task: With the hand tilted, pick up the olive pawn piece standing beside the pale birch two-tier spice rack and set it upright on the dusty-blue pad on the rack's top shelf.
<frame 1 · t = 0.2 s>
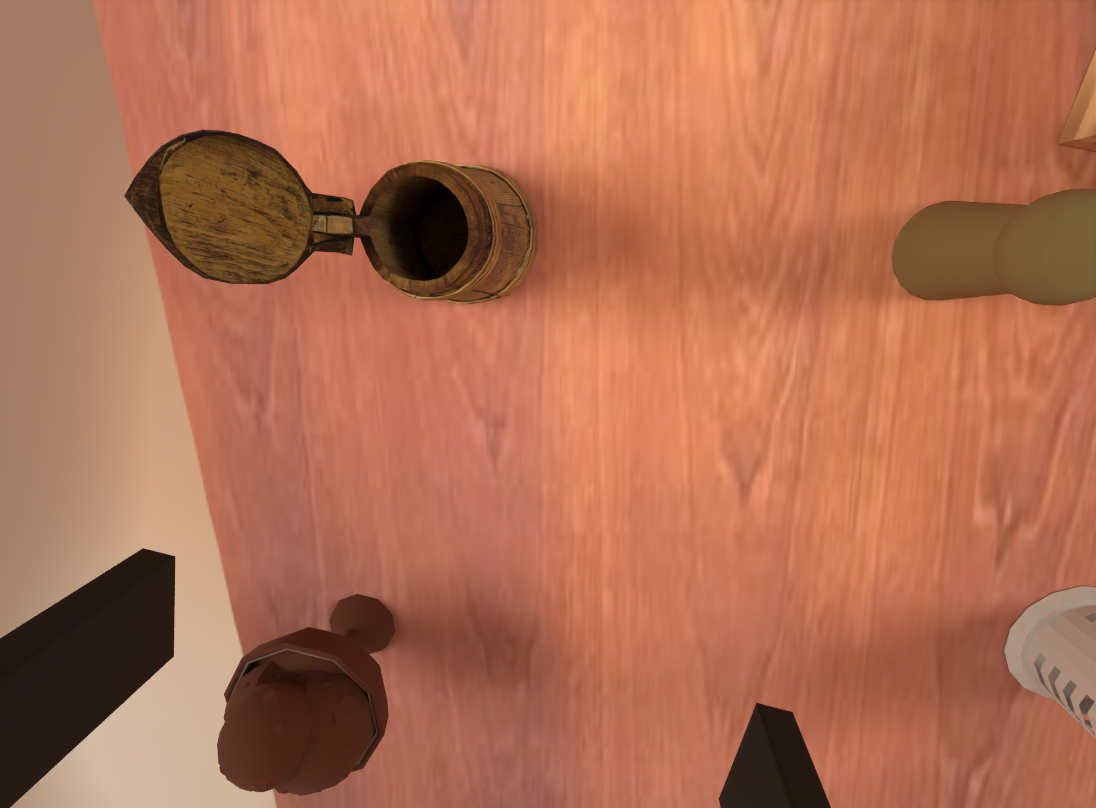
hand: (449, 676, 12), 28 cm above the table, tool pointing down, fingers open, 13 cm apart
wooden mug: (439, 234, 37), on the table
french press: (1083, 649, 40), on the table
olive pawn piece: (941, 251, 34), on the table
ice cream bowl: (363, 622, 46), on the table
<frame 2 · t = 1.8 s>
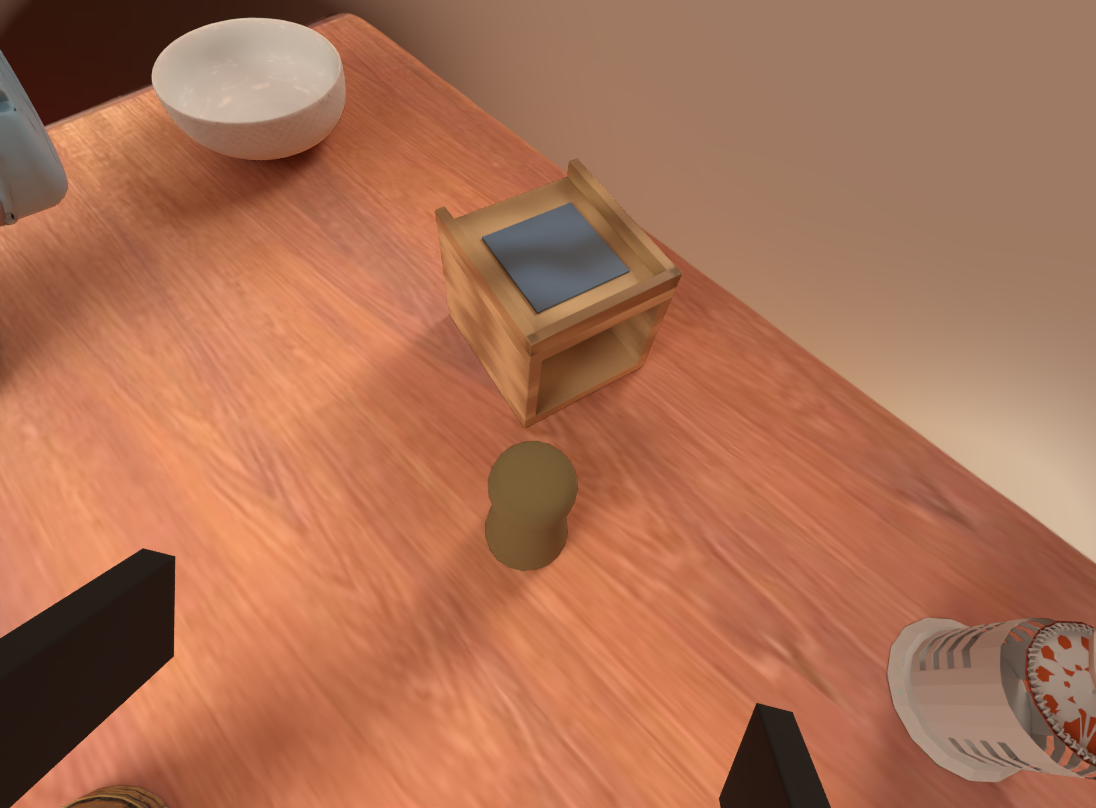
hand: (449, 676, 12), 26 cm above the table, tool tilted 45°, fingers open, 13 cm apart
cereal bowl: (276, 134, 58), on the table
french press: (969, 692, 37), on the table
olive pawn piece: (526, 529, 40), on the table
spice rack: (545, 339, 48), on the table
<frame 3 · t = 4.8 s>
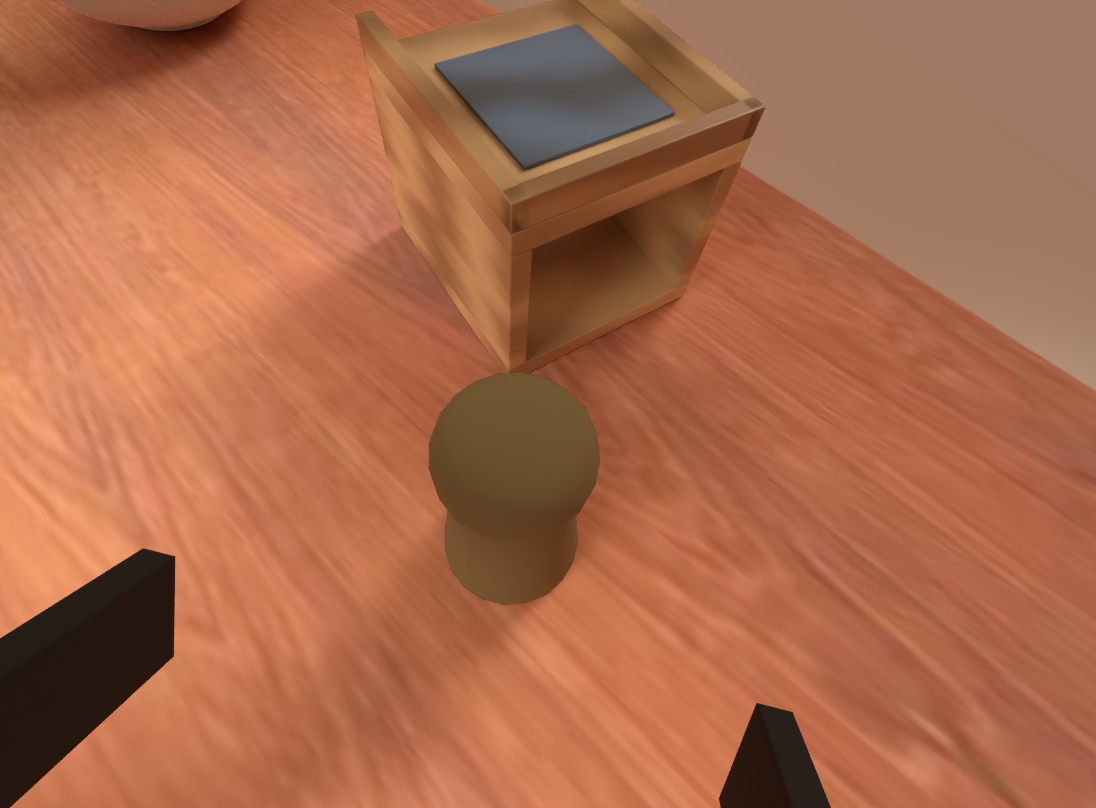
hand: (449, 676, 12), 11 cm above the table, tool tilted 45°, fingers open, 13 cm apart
cereal bowl: (177, 8, 43), on the table
olive pawn piece: (511, 536, 25), on the table
spice rack: (539, 260, 33), on the table
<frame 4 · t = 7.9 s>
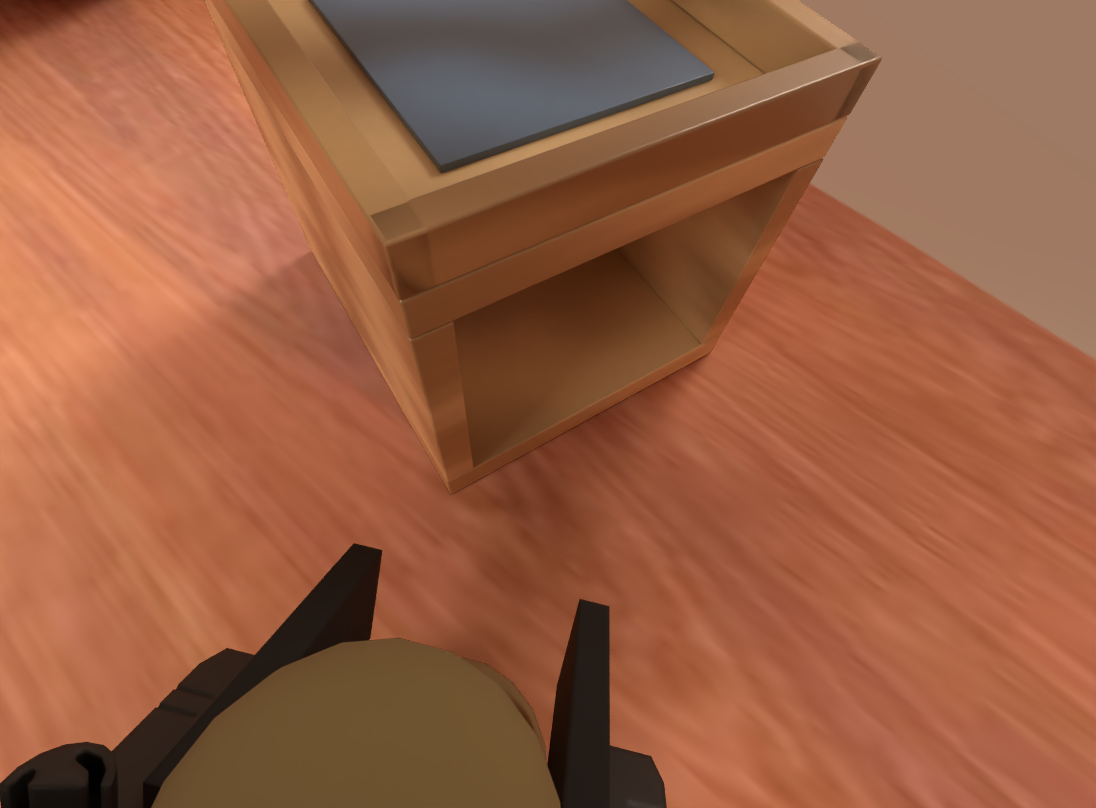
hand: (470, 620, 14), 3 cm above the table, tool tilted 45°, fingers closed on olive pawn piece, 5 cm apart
olive pawn piece: (439, 775, 15), on the table, touching gripper
spice rack: (506, 299, 23), on the table
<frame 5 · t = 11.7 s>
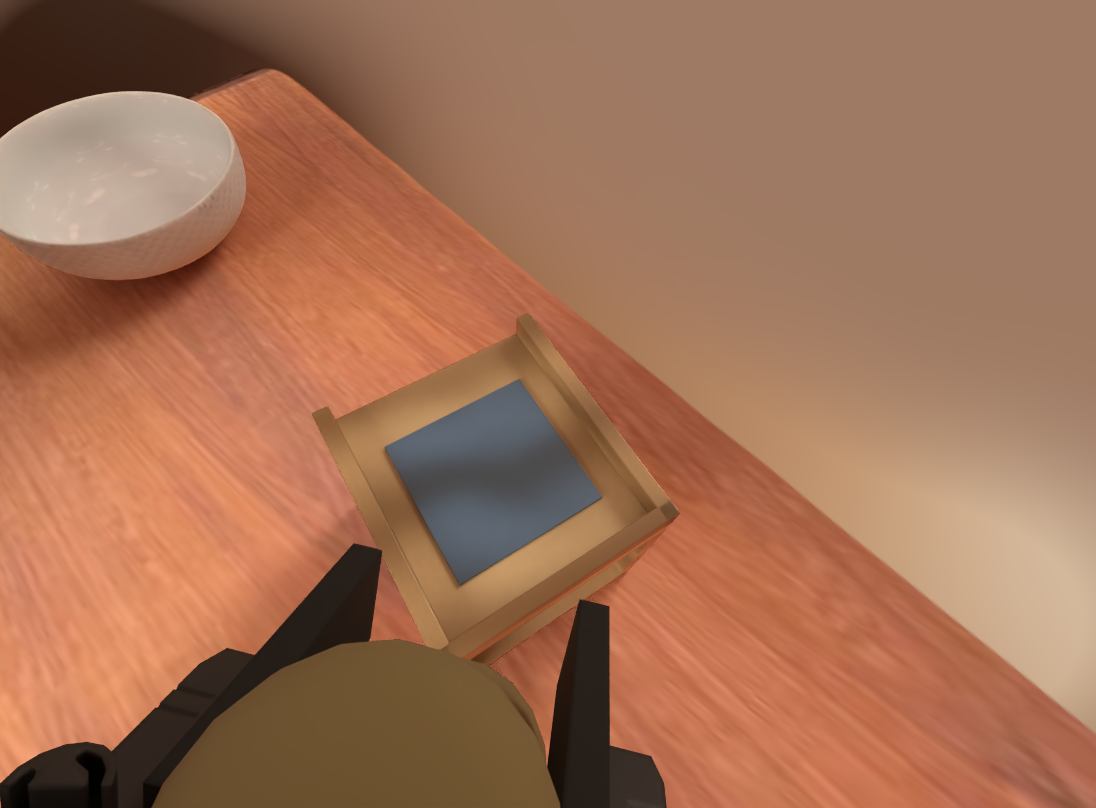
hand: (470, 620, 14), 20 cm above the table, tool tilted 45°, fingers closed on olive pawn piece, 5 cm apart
cereal bowl: (163, 234, 46), on the table
olive pawn piece: (439, 775, 15), point 17 cm above the table, touching gripper
spice rack: (496, 532, 35), on the table
when the fingers open (14 cm above the table, at t = 15.6 s): olive pawn piece stays where it is, resting on spice rack.
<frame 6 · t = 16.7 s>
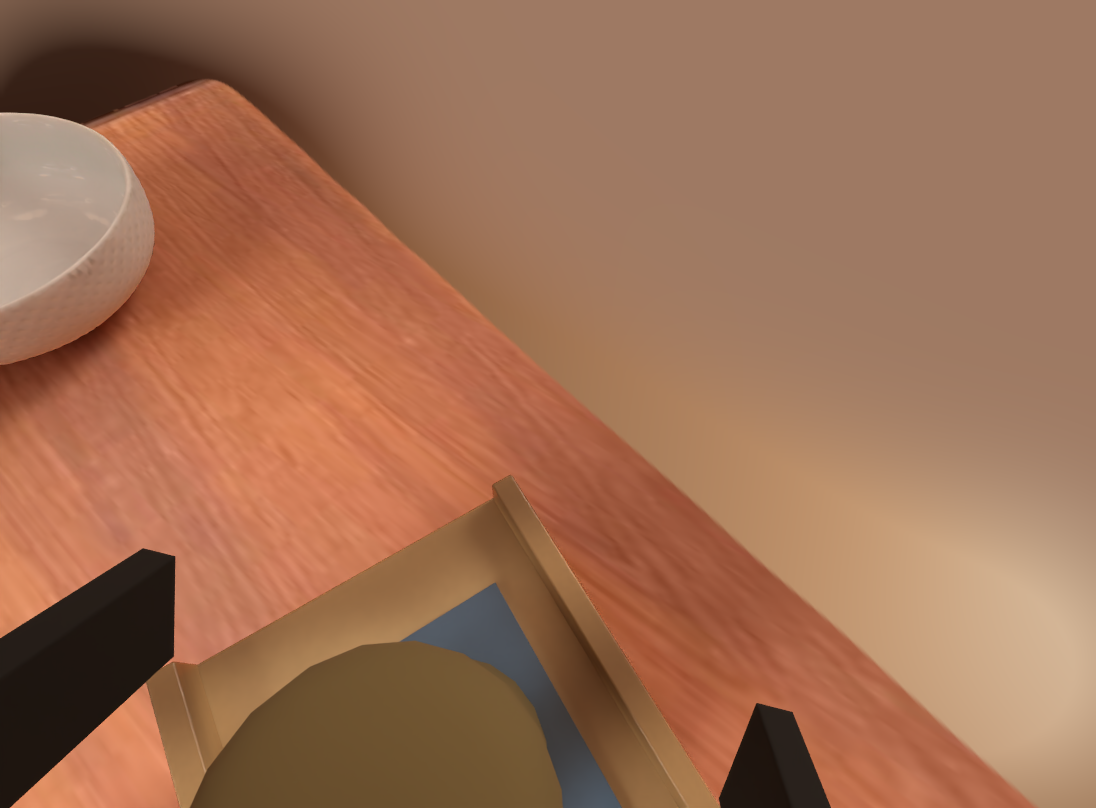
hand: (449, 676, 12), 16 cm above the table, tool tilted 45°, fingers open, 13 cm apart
cereal bowl: (51, 294, 36), on the table
olive pawn piece: (445, 769, 16), point 10 cm above the table, touching spice rack
spice rack: (468, 744, 25), on the table
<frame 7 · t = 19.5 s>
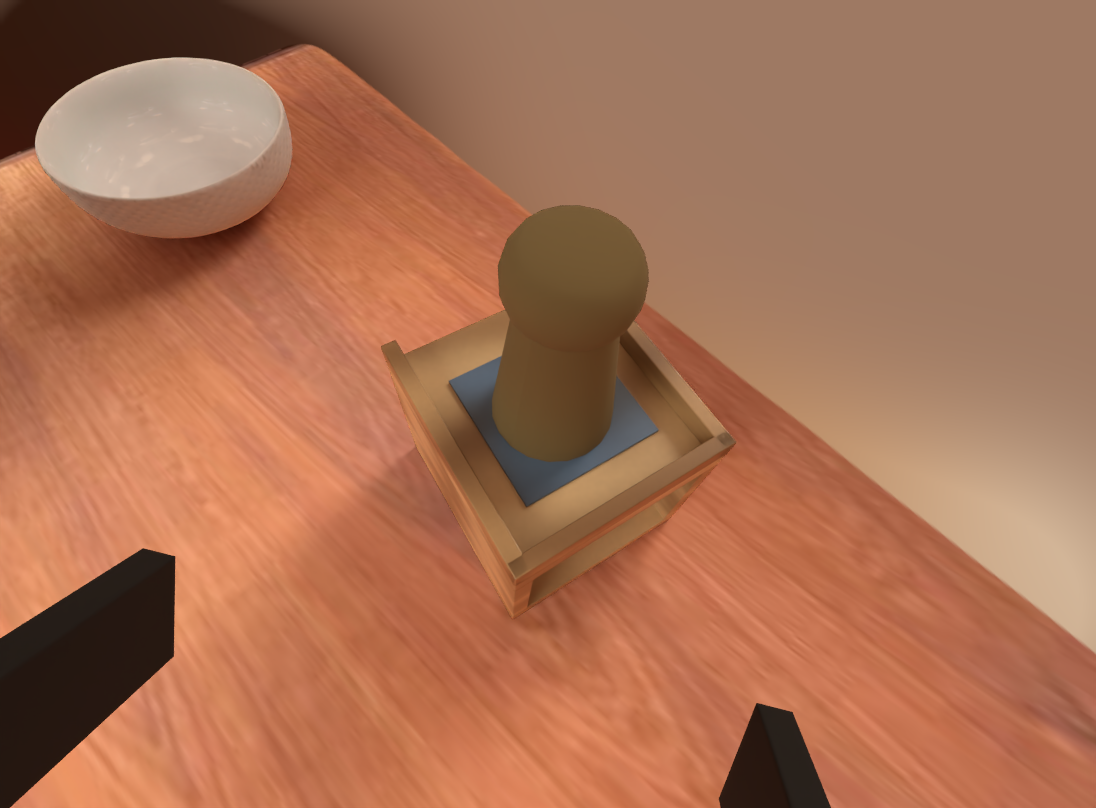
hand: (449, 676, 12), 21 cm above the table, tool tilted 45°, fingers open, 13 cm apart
cereal bowl: (209, 198, 47), on the table
olive pawn piece: (552, 407, 27), point 10 cm above the table, touching spice rack
spice rack: (541, 481, 36), on the table
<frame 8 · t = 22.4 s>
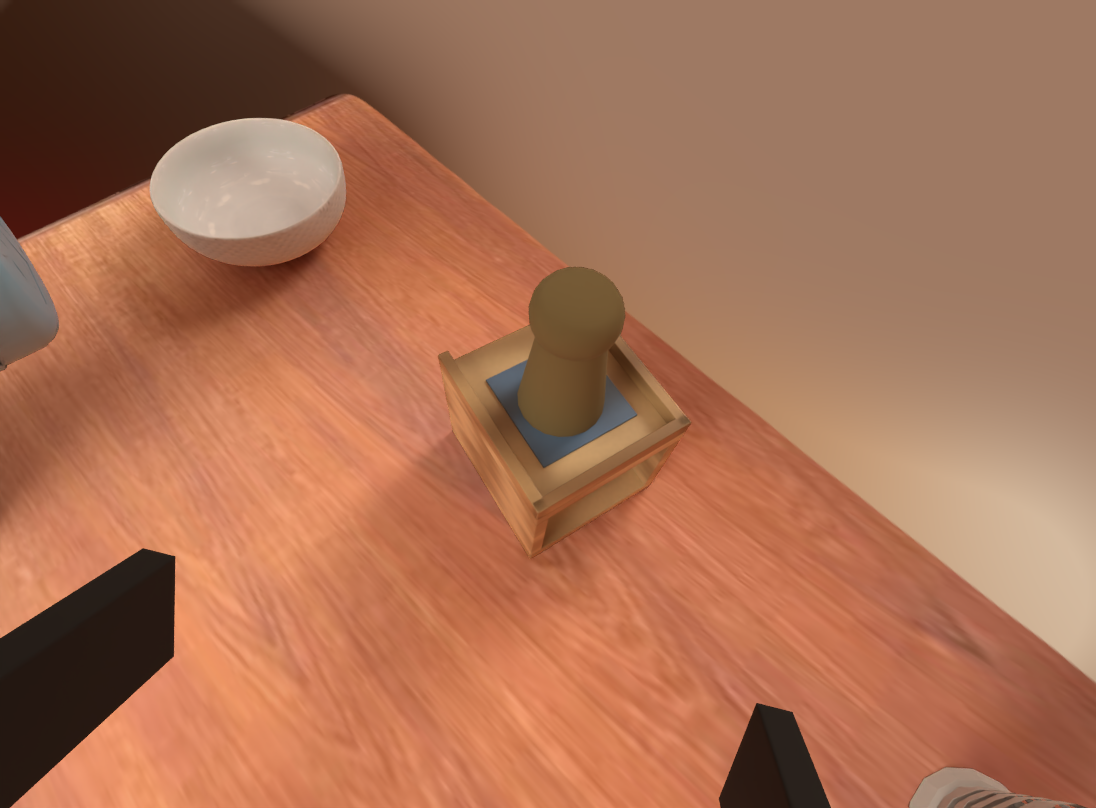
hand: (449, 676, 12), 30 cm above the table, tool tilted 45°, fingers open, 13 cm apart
cereal bowl: (276, 231, 57), on the table
olive pawn piece: (560, 398, 38), point 10 cm above the table, touching spice rack
spice rack: (550, 457, 47), on the table
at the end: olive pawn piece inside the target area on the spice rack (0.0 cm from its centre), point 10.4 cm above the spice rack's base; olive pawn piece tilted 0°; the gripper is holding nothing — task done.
